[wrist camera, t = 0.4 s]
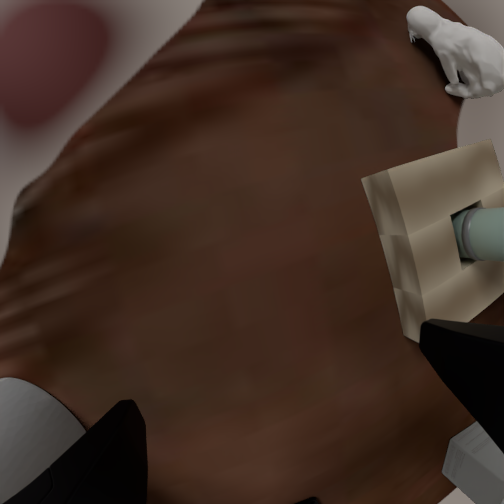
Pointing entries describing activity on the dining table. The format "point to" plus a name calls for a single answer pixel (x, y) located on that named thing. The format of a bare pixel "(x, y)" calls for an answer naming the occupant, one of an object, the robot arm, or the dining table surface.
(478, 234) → the plug
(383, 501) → the dining table surface
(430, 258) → the square hole wooden block
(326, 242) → the dining table surface
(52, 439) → the utensil holder
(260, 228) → the dining table surface
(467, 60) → the white rounded figure
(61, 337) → the dining table surface
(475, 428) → the supplement box
